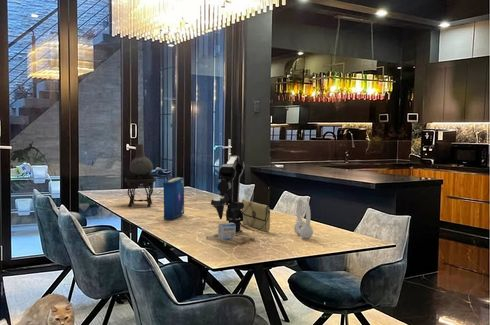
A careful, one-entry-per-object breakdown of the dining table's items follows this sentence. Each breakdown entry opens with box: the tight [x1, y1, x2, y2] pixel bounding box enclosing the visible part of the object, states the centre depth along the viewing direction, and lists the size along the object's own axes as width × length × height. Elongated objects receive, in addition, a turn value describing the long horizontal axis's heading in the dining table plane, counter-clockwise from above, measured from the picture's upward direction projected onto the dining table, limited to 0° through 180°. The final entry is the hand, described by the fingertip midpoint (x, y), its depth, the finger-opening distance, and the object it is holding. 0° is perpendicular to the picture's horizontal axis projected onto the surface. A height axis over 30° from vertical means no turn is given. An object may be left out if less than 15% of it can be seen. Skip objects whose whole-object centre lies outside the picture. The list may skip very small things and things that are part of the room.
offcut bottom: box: [231, 240, 250, 245], centre depth 236 cm, size 7×5×2 cm
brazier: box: [124, 143, 157, 208], centre depth 349 cm, size 22×22×45 cm
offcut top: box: [231, 234, 250, 243], centre depth 236 cm, size 7×5×2 cm
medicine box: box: [217, 222, 236, 241], centre depth 242 cm, size 8×4×9 cm, turn 126°
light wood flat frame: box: [205, 233, 256, 247], centre depth 241 cm, size 14×21×2 cm, turn 47°
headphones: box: [293, 198, 314, 240], centre depth 252 cm, size 7×18×20 cm, turn 9°
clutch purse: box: [240, 199, 271, 233], centre depth 272 cm, size 30×7×15 cm, turn 31°
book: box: [162, 176, 185, 221], centre depth 303 cm, size 22×7×25 cm, turn 168°
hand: (227, 220), depth 242 cm, fingers open, 9 cm apart
